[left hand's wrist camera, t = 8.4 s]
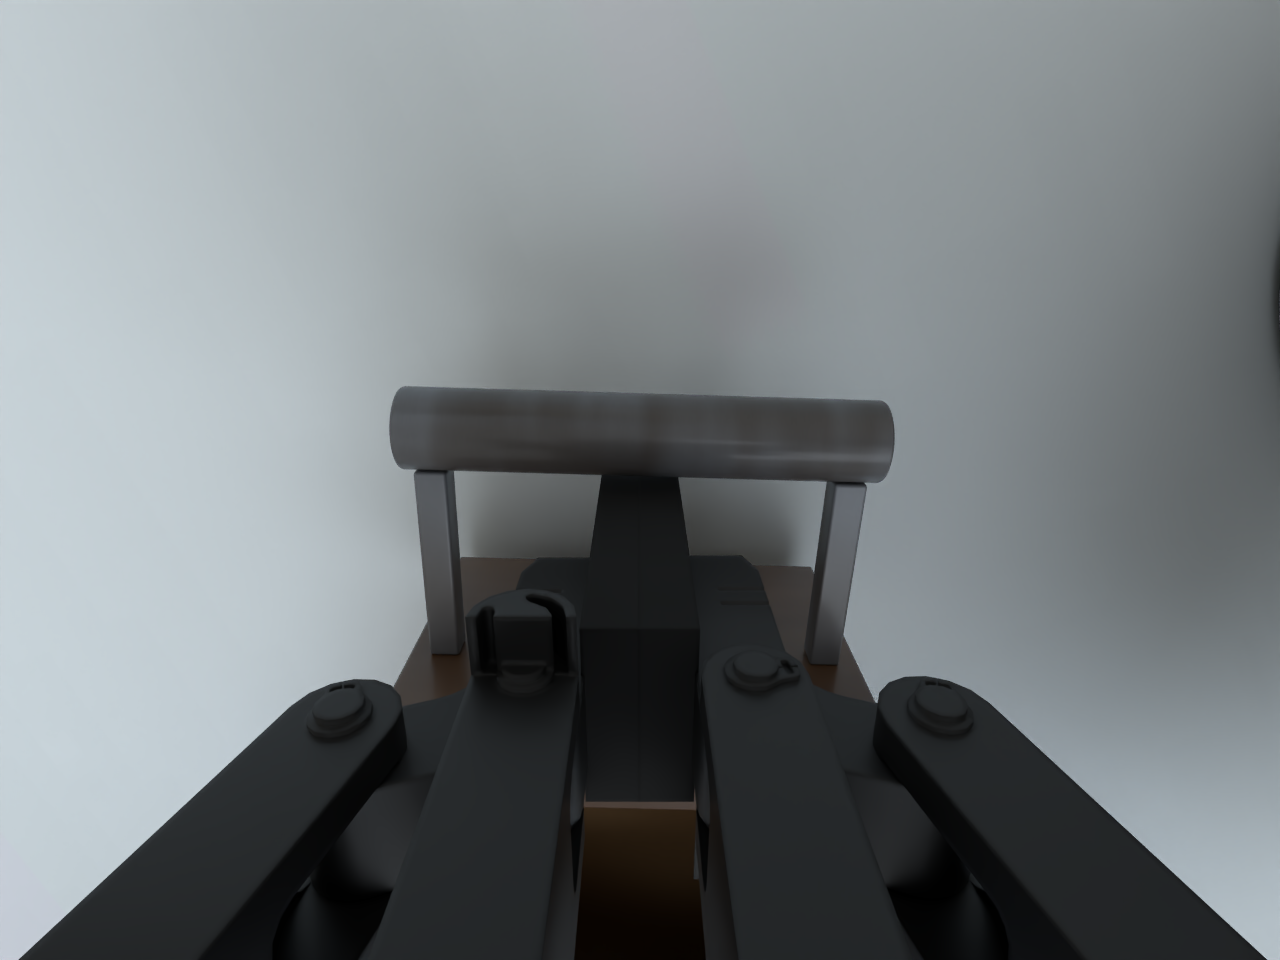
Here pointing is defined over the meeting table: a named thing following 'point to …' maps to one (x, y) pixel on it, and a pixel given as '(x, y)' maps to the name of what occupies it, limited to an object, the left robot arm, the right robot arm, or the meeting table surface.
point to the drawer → (535, 443)
